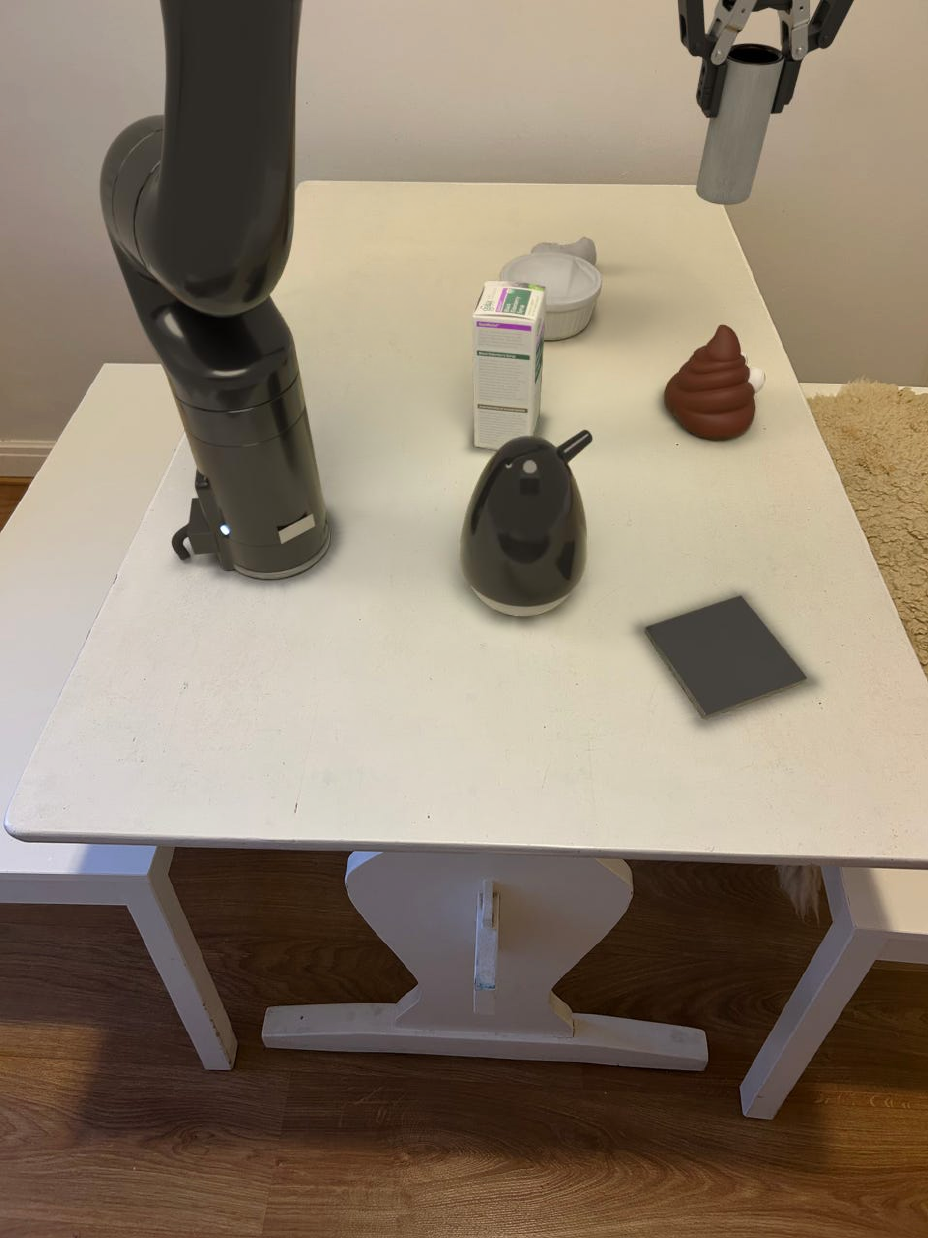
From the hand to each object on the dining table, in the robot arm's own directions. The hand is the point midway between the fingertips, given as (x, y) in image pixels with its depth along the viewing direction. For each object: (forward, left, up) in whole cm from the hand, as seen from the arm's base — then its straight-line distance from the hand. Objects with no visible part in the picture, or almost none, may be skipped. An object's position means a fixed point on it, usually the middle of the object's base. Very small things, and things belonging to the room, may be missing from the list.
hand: (740, 110), depth 66 cm
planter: (0, 0, -7) cm, 7 cm away
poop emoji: (+2, -3, -27) cm, 27 cm away
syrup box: (-18, -4, -27) cm, 33 cm away
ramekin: (-11, +16, -27) cm, 33 cm away
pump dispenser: (-20, -24, -27) cm, 41 cm away
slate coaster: (-6, -33, -27) cm, 43 cm away
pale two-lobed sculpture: (-7, +25, -27) cm, 38 cm away
